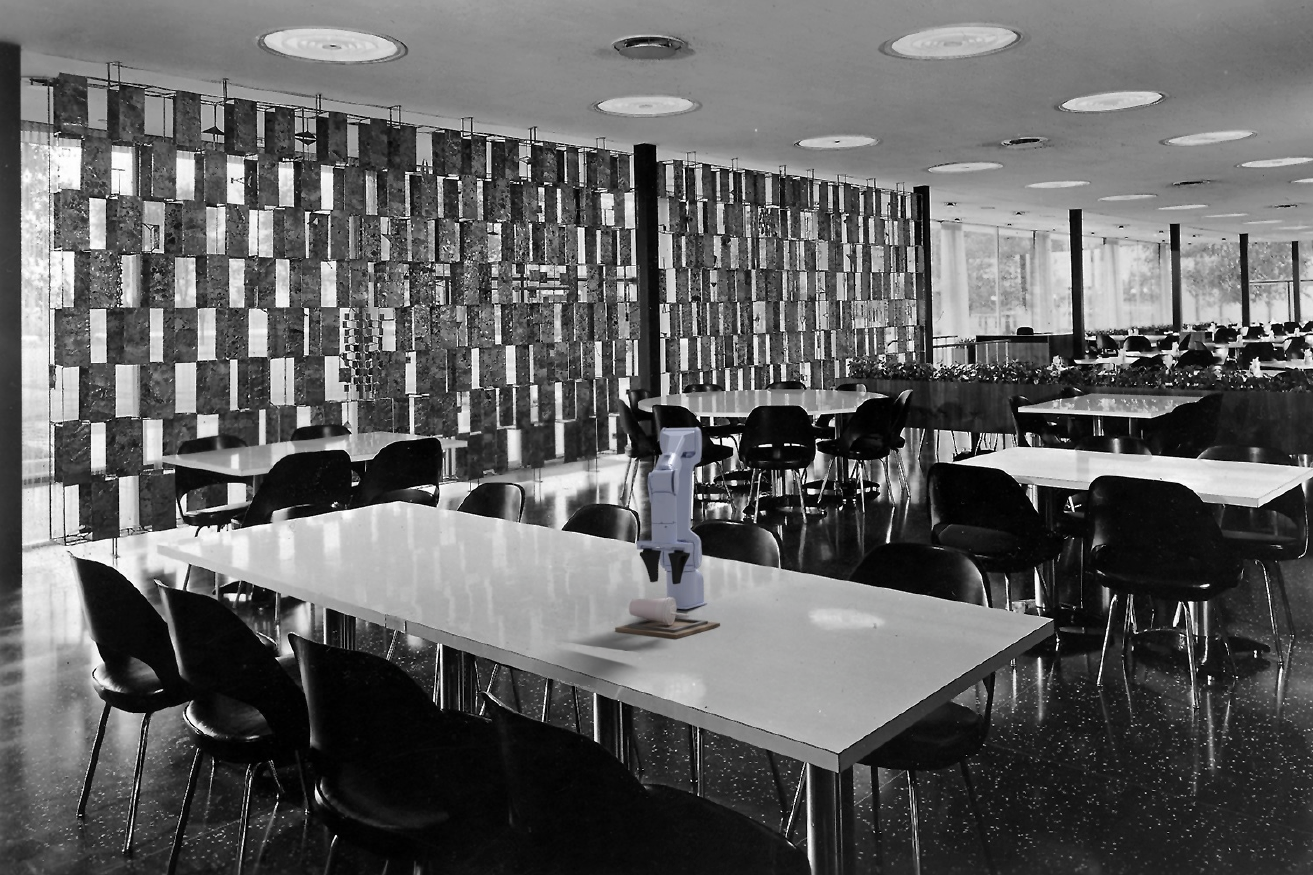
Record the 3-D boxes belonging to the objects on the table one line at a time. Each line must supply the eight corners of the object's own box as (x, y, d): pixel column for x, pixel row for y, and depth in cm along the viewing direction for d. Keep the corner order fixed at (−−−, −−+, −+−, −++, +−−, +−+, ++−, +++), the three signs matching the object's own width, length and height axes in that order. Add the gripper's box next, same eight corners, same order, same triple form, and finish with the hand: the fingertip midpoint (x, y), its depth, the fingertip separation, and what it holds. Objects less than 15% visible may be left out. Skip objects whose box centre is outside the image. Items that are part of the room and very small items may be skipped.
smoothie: (624, 607, 237) (682, 613, 232) (634, 587, 242) (691, 593, 236) (630, 626, 241) (687, 633, 235) (640, 606, 245) (696, 613, 240)
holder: (660, 619, 250) (660, 613, 250) (720, 626, 240) (720, 620, 240) (615, 631, 236) (615, 624, 236) (676, 638, 226) (676, 632, 226)
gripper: (628, 523, 239) (629, 582, 239) (679, 525, 231) (680, 587, 231) (646, 520, 245) (648, 579, 245) (698, 522, 236) (699, 583, 236)
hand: (665, 582), depth 238 cm, fingers open, 6 cm apart
